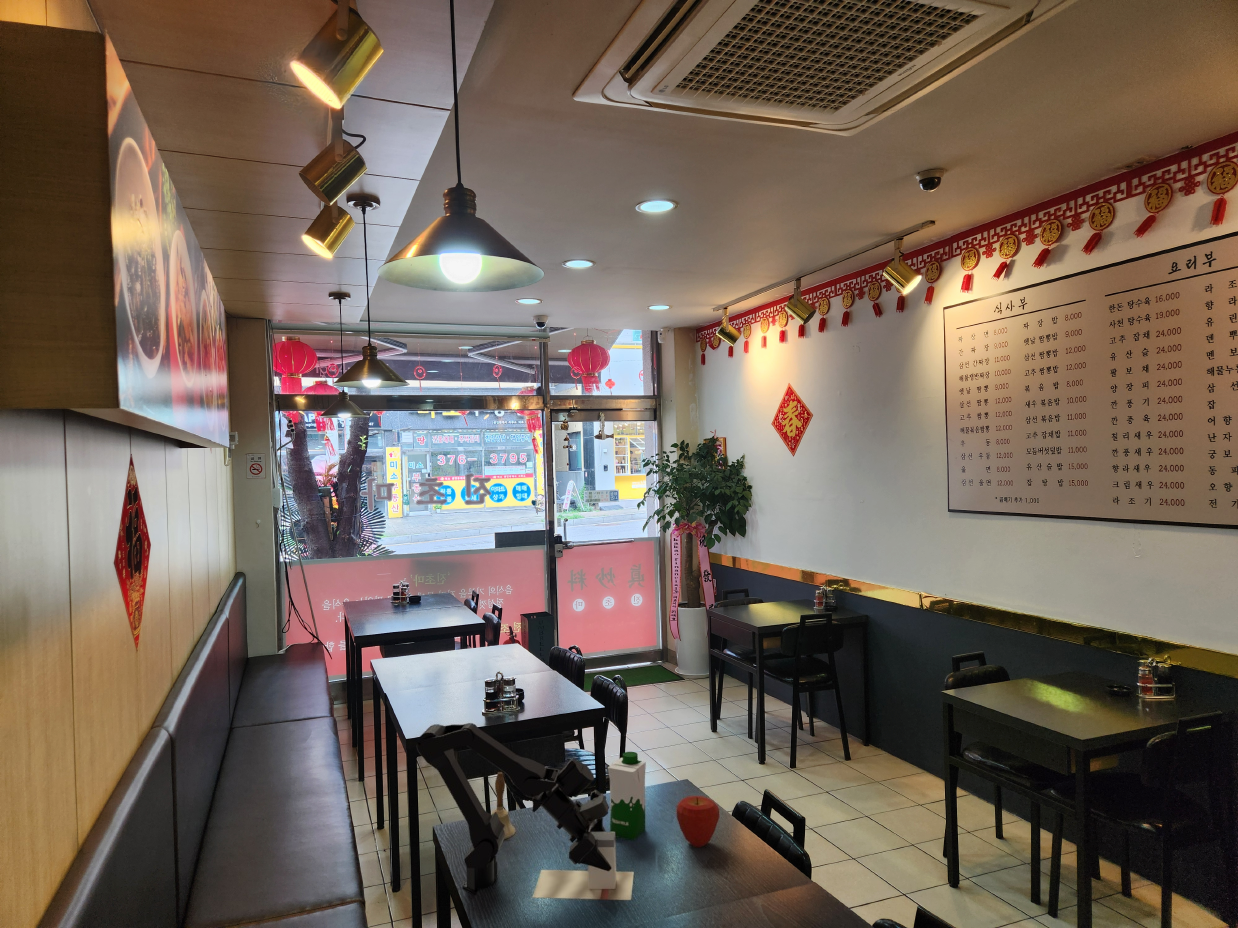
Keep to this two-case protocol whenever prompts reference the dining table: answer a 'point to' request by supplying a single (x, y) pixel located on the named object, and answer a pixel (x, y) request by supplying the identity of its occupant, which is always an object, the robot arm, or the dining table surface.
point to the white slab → (607, 848)
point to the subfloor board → (580, 886)
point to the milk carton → (627, 796)
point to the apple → (697, 819)
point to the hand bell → (500, 811)
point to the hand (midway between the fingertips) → (612, 859)
